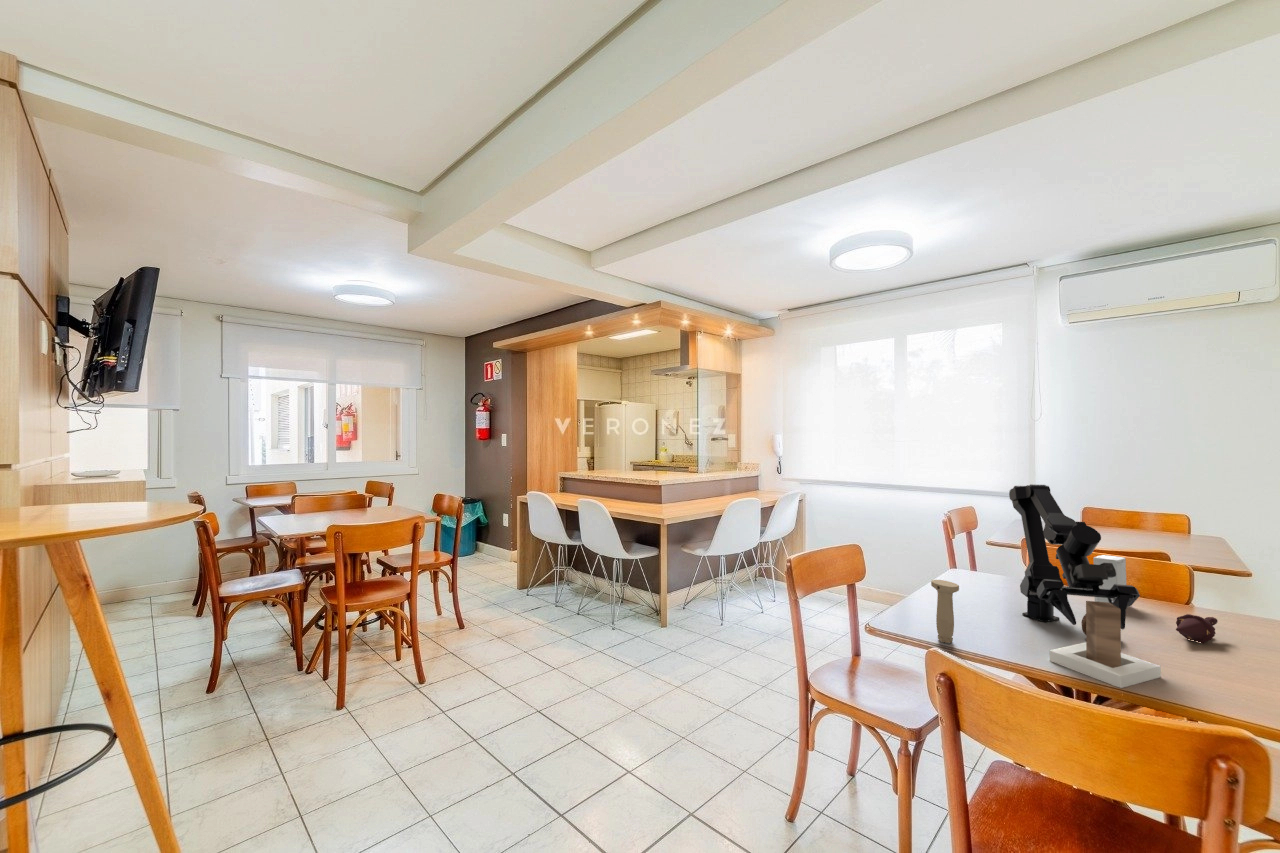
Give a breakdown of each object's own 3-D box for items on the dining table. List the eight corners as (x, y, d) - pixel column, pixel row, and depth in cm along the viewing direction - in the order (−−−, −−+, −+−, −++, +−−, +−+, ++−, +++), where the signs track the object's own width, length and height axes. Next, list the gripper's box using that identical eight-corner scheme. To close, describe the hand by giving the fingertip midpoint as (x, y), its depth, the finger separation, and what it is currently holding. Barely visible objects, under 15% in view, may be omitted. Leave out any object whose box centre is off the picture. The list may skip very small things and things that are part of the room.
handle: (940, 635, 140) (940, 578, 140) (963, 644, 134) (963, 585, 134) (927, 638, 138) (927, 581, 138) (950, 647, 132) (949, 587, 132)
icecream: (1200, 626, 129) (1236, 624, 134) (1164, 609, 136) (1199, 607, 141) (1190, 650, 130) (1226, 648, 135) (1154, 632, 137) (1189, 630, 142)
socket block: (1088, 652, 129) (1088, 641, 129) (1160, 677, 116) (1160, 665, 116) (1049, 660, 124) (1049, 650, 124) (1120, 688, 111) (1120, 676, 111)
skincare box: (1118, 610, 159) (1117, 560, 159) (1092, 604, 164) (1092, 556, 164) (1127, 604, 163) (1127, 557, 163) (1102, 599, 168) (1102, 553, 168)
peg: (1086, 660, 123) (1086, 600, 123) (1110, 663, 122) (1109, 602, 122) (1096, 669, 119) (1096, 607, 119) (1121, 671, 117) (1120, 609, 117)
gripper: (1041, 546, 130) (1061, 606, 119) (1135, 551, 124) (1165, 614, 114) (1028, 569, 137) (1046, 627, 127) (1116, 575, 132) (1143, 637, 121)
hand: (1098, 626), depth 122 cm, fingers open, 9 cm apart
